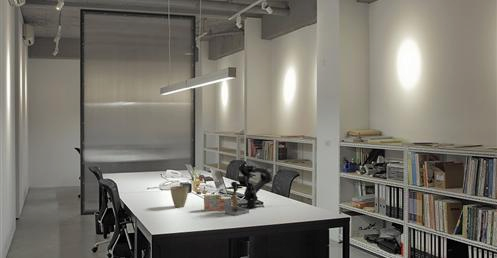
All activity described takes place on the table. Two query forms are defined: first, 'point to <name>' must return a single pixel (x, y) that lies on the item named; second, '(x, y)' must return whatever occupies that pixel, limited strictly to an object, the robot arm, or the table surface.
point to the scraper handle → (234, 203)
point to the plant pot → (179, 195)
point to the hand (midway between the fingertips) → (239, 194)
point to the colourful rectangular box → (217, 202)
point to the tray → (241, 211)
